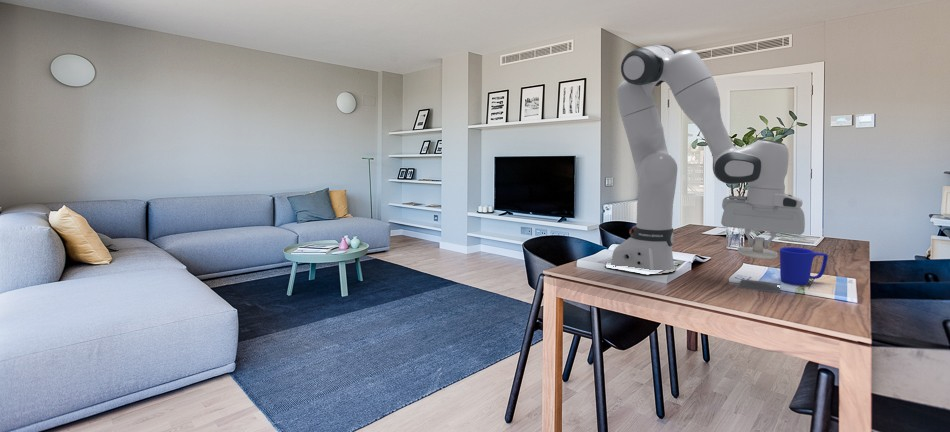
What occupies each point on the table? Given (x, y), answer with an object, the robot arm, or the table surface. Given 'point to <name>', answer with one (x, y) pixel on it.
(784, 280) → the mug
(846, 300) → the table surface
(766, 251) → the lid
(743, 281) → the mat
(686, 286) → the table surface
